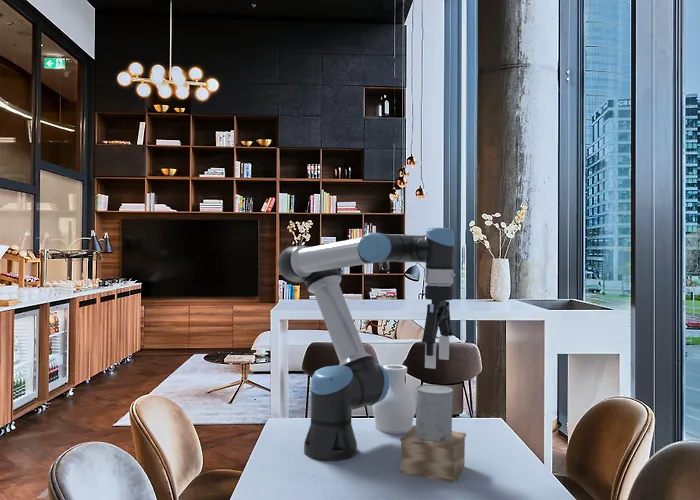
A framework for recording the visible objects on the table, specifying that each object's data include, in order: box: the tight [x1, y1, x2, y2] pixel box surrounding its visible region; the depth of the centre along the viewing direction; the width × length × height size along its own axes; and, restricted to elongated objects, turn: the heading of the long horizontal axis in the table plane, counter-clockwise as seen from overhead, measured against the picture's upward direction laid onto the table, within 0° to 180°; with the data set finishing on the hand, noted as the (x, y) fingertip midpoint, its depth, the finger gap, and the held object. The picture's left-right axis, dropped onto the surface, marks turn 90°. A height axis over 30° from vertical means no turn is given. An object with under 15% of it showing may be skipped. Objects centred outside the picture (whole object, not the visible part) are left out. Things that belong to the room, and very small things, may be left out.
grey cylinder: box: [415, 384, 454, 442], centre depth 147 cm, size 10×10×12 cm
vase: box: [371, 364, 416, 435], centre depth 182 cm, size 14×14×20 cm
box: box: [400, 437, 466, 483], centre depth 147 cm, size 14×12×8 cm
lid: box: [399, 425, 467, 450], centre depth 147 cm, size 14×12×1 cm
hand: (437, 363), depth 150 cm, fingers open, 13 cm apart
